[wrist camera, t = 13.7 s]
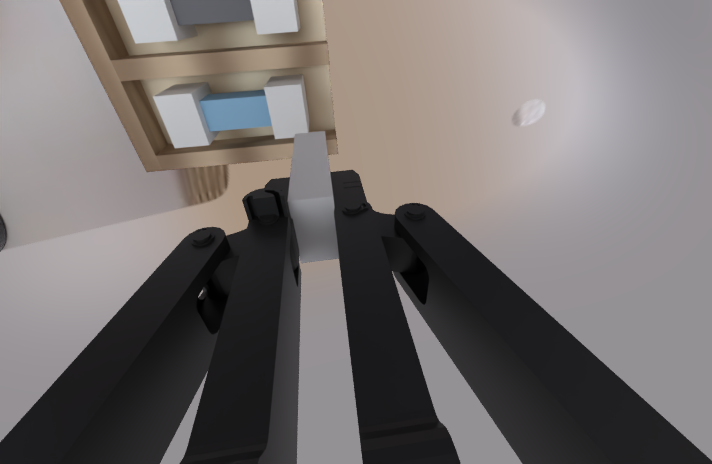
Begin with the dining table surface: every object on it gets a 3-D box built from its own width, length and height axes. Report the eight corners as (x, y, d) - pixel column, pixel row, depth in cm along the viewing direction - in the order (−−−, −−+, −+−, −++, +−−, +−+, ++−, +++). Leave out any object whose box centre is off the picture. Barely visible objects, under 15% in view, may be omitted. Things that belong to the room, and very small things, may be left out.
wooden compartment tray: (314, -83, 22) (314, -97, 19) (336, 140, 31) (338, 153, 29) (59, -69, 21) (18, -81, 18) (162, 156, 31) (146, 172, 28)
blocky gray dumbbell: (161, 38, 24) (135, 43, 21) (137, -28, 22) (102, -35, 18) (300, 28, 25) (298, 31, 21) (291, -38, 22) (286, -46, 19)
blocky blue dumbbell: (192, 130, 29) (174, 148, 25) (174, 84, 26) (152, 96, 23) (309, 120, 29) (308, 136, 26) (302, 74, 27) (300, 84, 23)
